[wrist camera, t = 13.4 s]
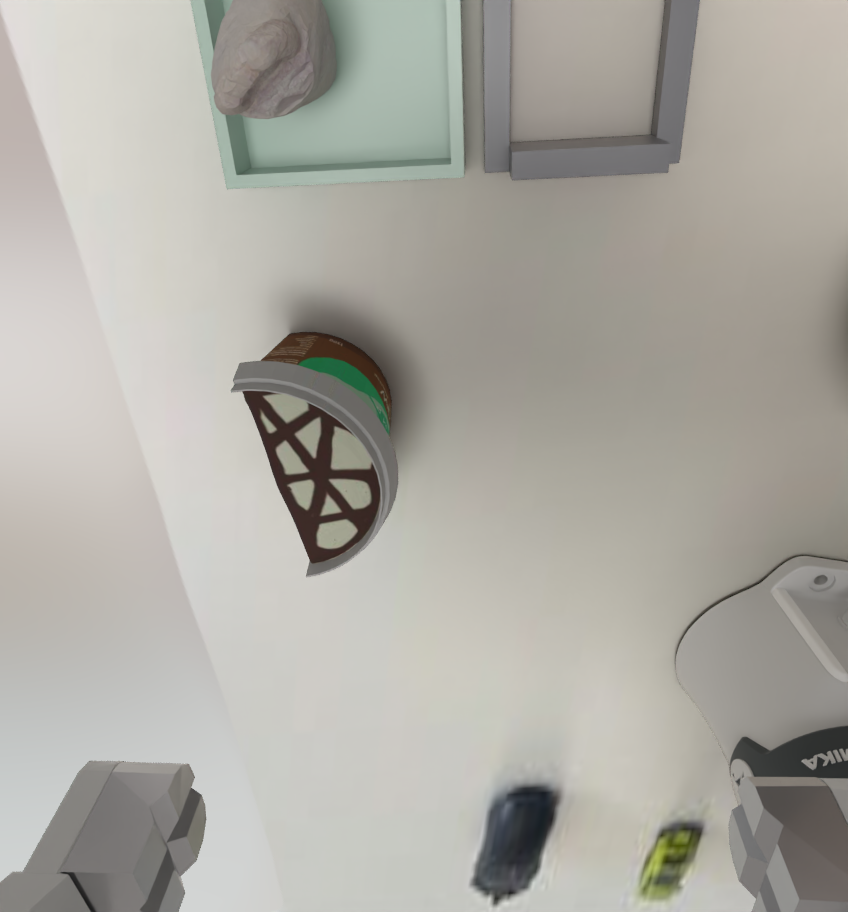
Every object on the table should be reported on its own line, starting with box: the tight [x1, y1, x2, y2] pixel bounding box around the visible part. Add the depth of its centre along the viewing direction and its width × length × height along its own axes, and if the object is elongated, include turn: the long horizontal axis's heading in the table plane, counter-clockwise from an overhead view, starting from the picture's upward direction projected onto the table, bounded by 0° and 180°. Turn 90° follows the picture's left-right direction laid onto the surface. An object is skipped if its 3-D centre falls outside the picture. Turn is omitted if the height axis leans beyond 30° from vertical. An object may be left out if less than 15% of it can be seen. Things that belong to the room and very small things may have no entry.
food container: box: [231, 332, 398, 577], centre depth 37 cm, size 12×6×10 cm, turn 13°
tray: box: [191, 0, 465, 189], centre depth 31 cm, size 12×11×3 cm
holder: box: [483, 0, 700, 180], centre depth 30 cm, size 9×11×4 cm
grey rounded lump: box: [211, 0, 337, 119], centre depth 27 cm, size 6×4×10 cm, turn 159°
